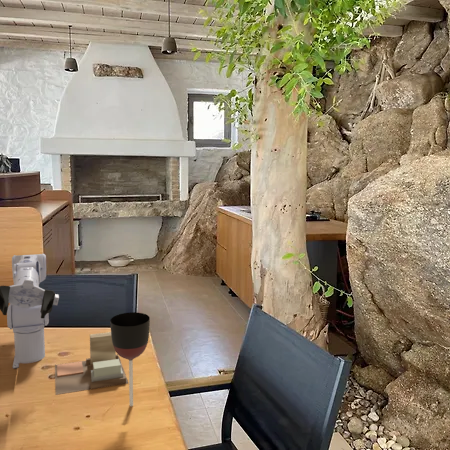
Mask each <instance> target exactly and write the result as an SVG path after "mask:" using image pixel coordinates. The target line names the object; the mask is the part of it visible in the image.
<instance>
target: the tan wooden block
mask: <svg viewBox="0 0 450 450" xmlns="http://www.w3.org/2000/svg"><path fill="white" fill-rule="evenodd" d="M89 347H90V348H89V351H90V352H89V353H90V355H89V357H90V361H91V365H92V364H93V362H100V361H107V360H114V359H116V355H117V353H116V351H115V349H114V347H113V343H112V337H111V331H107V332H100V333H98V332H97V333H91V334H89Z"/></svg>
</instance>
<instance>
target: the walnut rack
mask: <svg viewBox="0 0 450 450" xmlns="http://www.w3.org/2000/svg"><path fill="white" fill-rule="evenodd" d="M116 359H119V361H120V364H121V368H122V371H123V377H121V378H115V379H108V380H101V381H95V382H92V380H91V370H93V364H92V365H91V361H90V358H86V359H85V360H80V361H74V362H68V363H67V362H66V363H60V364H59V363H58V364H57V363H56V364H54V376H55V377H54V379H55V380H54V383H55V386H54V387H55V389H54V390H55V395H57V396H58V395H65V394H69V393H77V392H82V391H89V390H96V389H102V388H108V387H113V386H121V385H126V384H129V379H128V377H127V375H126V373H125V369H124V366H123V363H122V361H121V359H120V356H119V355H118V354H116Z"/></svg>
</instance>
